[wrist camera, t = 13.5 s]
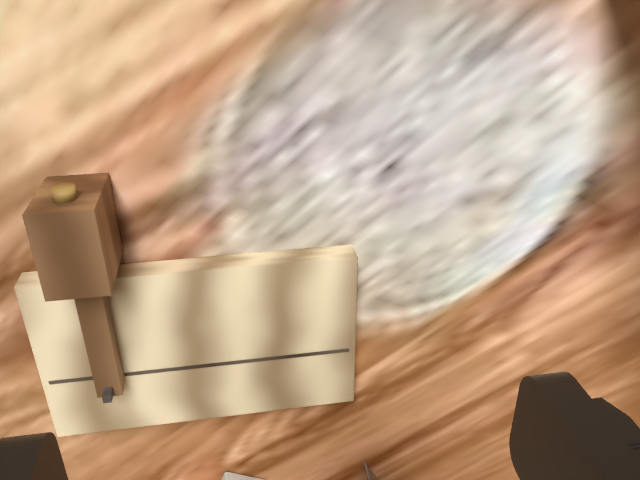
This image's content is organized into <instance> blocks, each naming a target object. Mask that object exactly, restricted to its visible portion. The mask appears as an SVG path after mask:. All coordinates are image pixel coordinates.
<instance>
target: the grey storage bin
mask: <svg viewBox="0 0 640 480" xmlns="http://www.w3.org/2000/svg"><path fill="white" fill-rule="evenodd" d="M364 466H365V469H366V473H367V476H368V480H378V478H377V477H376V476H375V474H374V473H373V472H372V470H371V469H370V468H369V466H368V465H367V464H366V462H364Z"/></svg>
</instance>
